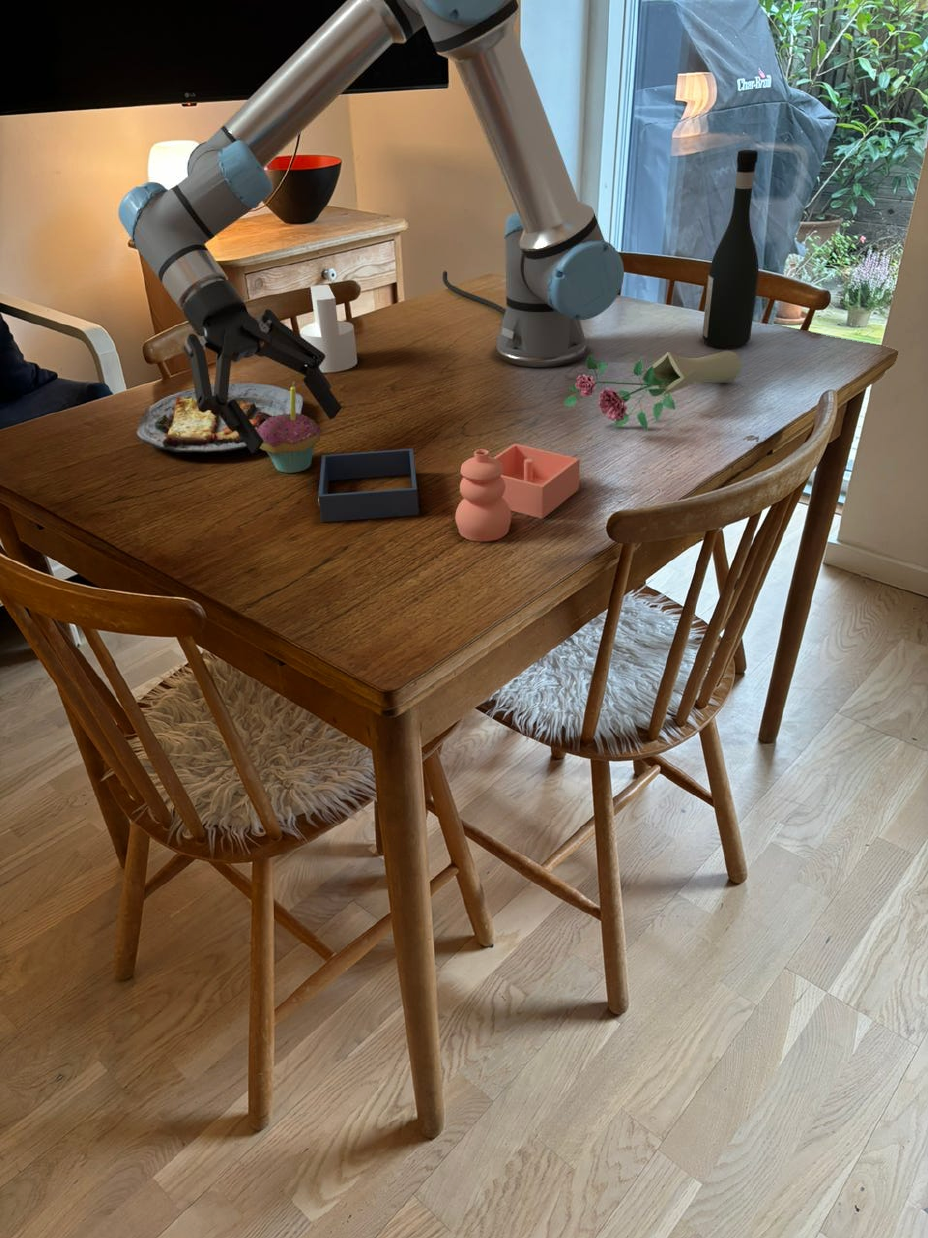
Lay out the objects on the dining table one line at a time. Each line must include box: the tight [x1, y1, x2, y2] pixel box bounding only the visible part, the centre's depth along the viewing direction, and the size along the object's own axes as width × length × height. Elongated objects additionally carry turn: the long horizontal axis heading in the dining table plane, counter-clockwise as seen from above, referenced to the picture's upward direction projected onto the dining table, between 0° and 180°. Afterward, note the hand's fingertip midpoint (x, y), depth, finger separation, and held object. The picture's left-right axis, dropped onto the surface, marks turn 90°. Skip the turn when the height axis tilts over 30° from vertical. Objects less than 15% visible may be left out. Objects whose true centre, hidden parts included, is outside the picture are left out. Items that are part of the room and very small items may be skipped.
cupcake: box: [257, 381, 322, 474], centre depth 125 cm, size 9×8×12 cm
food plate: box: [135, 381, 304, 454], centre depth 140 cm, size 25×23×4 cm
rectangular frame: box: [317, 448, 420, 523], centre depth 119 cm, size 12×12×4 cm
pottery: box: [454, 443, 581, 543], centre depth 113 cm, size 18×10×10 cm, turn 146°
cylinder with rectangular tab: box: [299, 284, 358, 374], centre depth 159 cm, size 9×9×12 cm
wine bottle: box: [702, 149, 760, 349], centre depth 155 cm, size 8×8×30 cm
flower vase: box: [563, 350, 742, 431], centre depth 136 cm, size 12×12×35 cm
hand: (298, 430), depth 124 cm, fingers open, 13 cm apart
